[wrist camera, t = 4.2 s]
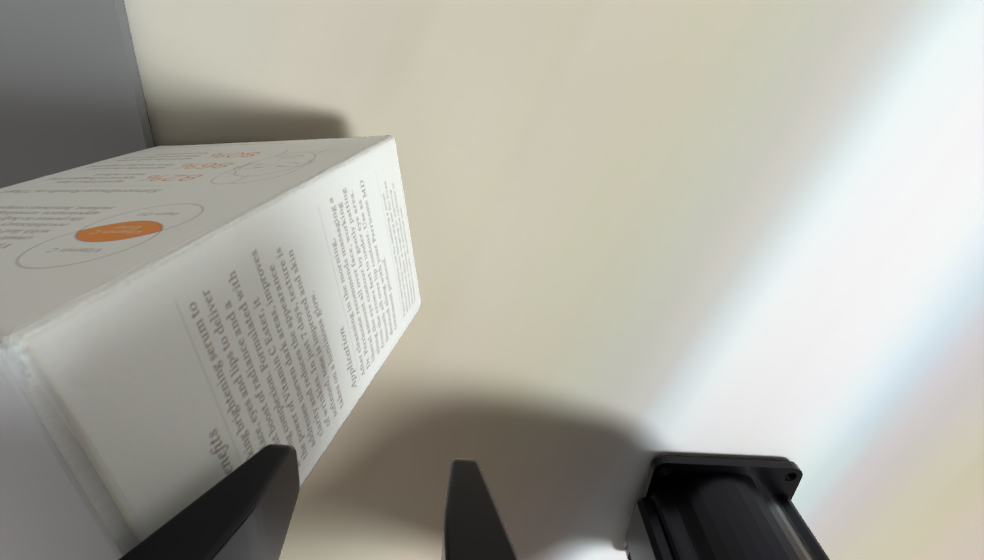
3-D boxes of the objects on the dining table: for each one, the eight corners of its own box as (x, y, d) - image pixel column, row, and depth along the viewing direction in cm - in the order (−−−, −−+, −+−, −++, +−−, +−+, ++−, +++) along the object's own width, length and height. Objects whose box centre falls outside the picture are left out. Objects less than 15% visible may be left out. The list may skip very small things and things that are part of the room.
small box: (216, 298, 18) (-185, 581, 9) (159, 140, 16) (-469, 312, 7) (428, 308, 16) (191, 673, 7) (401, 130, 14) (-7, 348, 5)
